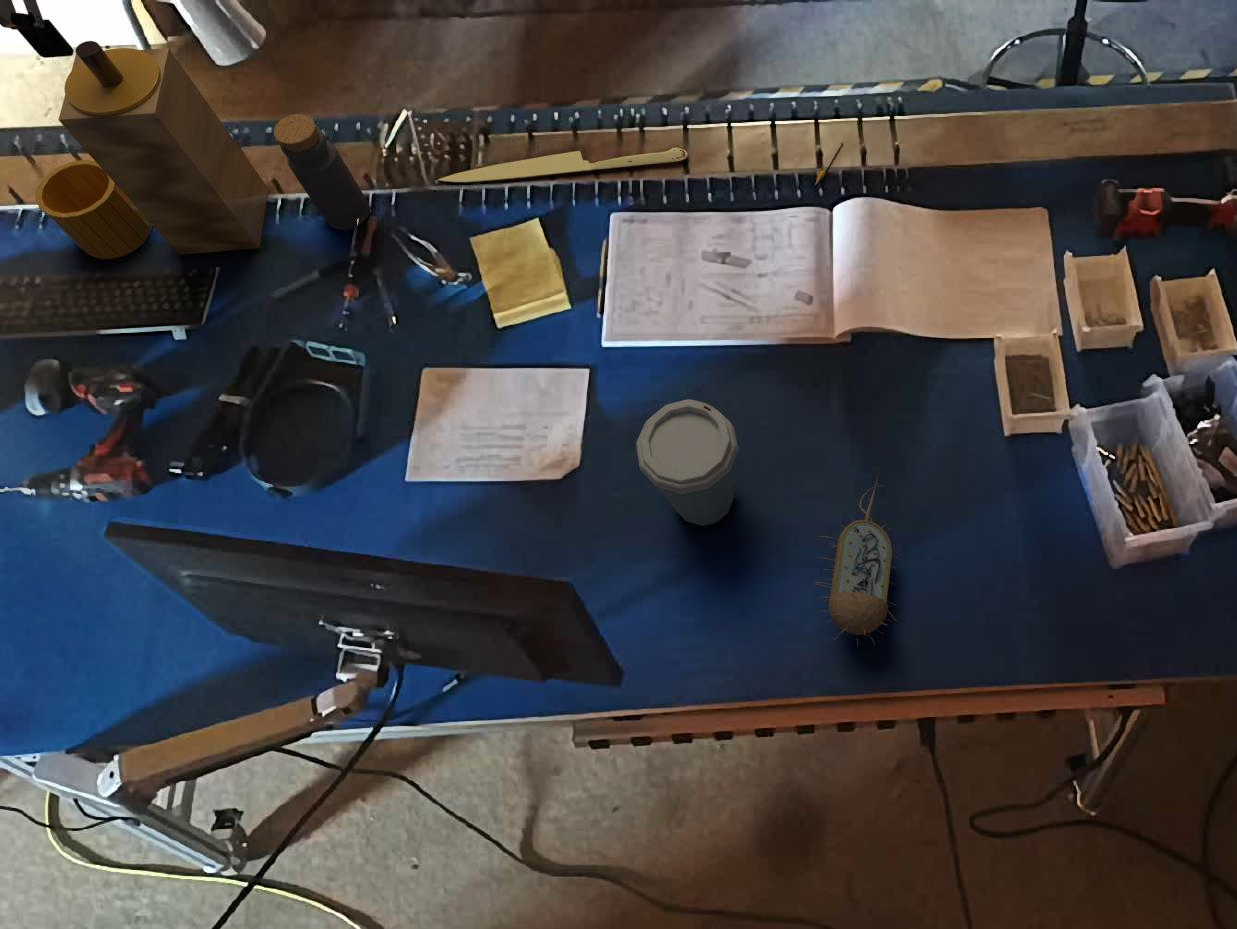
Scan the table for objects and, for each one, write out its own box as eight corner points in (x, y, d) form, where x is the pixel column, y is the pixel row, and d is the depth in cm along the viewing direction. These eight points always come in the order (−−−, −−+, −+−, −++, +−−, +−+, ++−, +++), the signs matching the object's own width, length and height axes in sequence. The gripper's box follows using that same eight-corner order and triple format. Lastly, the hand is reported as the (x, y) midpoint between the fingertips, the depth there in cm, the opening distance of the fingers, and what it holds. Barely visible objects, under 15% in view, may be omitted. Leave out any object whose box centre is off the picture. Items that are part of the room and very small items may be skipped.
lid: (47, 90, 117) (17, 56, 113) (120, 38, 121) (94, 3, 116) (107, 129, 115) (79, 95, 111) (180, 75, 118) (155, 40, 114)
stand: (178, 254, 136) (57, 119, 115) (190, 194, 140) (75, 53, 119) (259, 248, 137) (154, 113, 116) (268, 188, 141) (168, 47, 120)
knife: (436, 162, 143) (434, 185, 141) (685, 134, 146) (687, 155, 144) (439, 170, 144) (438, 192, 142) (686, 141, 147) (689, 163, 145)
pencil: (843, 144, 148) (843, 140, 147) (818, 187, 144) (817, 184, 144) (837, 142, 148) (837, 138, 147) (812, 186, 144) (812, 182, 144)
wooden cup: (63, 237, 136) (19, 195, 129) (120, 193, 140) (81, 149, 133) (110, 270, 135) (68, 228, 127) (167, 224, 138) (130, 181, 131)
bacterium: (893, 499, 126) (939, 470, 118) (873, 663, 118) (920, 644, 110) (815, 470, 122) (856, 438, 114) (788, 639, 113) (830, 617, 105)
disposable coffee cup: (713, 558, 120) (696, 502, 107) (637, 513, 122) (610, 451, 109) (766, 487, 124) (756, 424, 111) (691, 444, 126) (672, 377, 113)
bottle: (315, 219, 139) (257, 135, 125) (345, 189, 141) (291, 103, 128) (350, 237, 138) (296, 153, 124) (380, 206, 140) (330, 121, 127)
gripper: (-81, -197, 98) (47, -34, 114) (-132, -72, 91) (12, 84, 106) (4, -201, 99) (120, -39, 114) (-40, -77, 92) (90, 78, 107)
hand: (68, 21), depth 110 cm, fingers open, 9 cm apart
